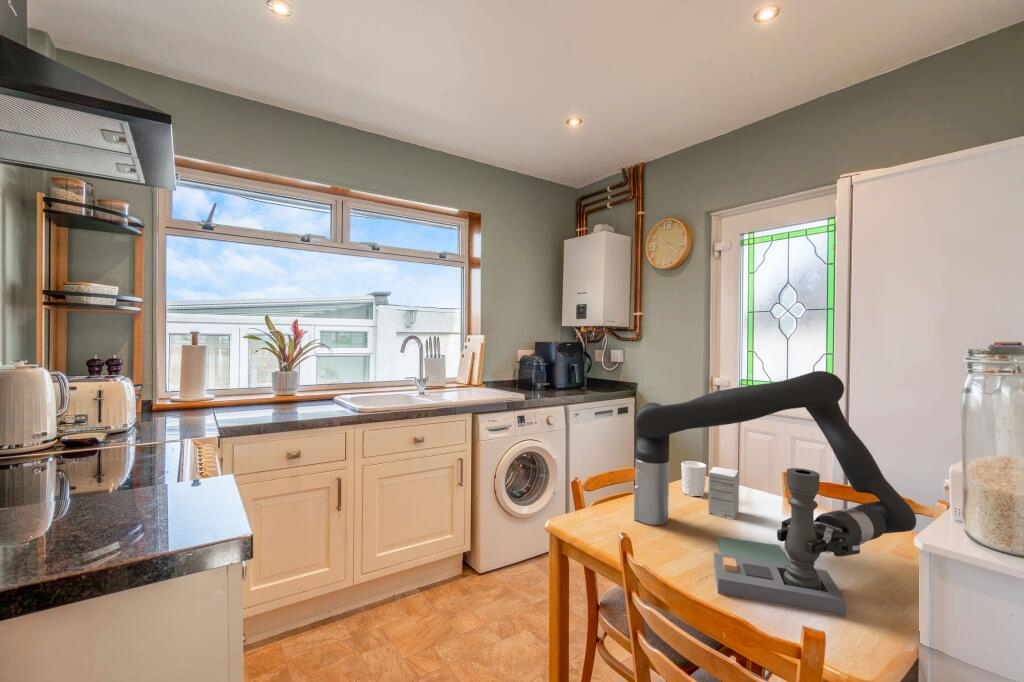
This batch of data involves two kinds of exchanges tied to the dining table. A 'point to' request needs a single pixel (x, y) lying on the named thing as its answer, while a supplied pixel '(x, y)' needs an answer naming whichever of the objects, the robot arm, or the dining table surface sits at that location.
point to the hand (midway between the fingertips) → (794, 542)
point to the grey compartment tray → (775, 585)
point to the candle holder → (801, 529)
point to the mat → (752, 550)
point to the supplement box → (723, 492)
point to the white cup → (693, 477)
